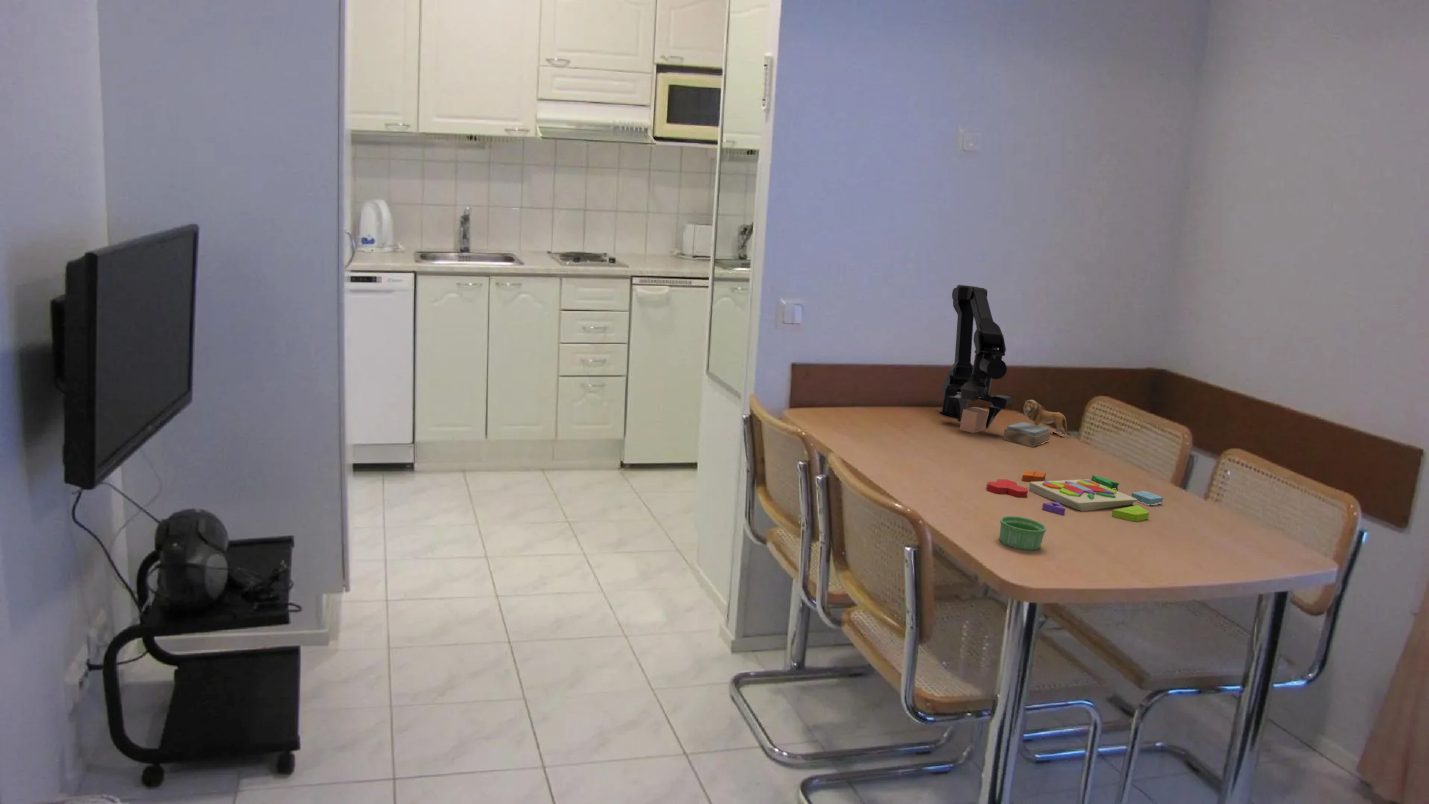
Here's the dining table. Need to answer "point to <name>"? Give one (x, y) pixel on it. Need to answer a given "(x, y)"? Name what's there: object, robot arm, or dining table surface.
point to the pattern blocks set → (1079, 494)
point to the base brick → (1026, 434)
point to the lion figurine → (1044, 415)
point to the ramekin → (1021, 532)
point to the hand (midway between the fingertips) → (973, 425)
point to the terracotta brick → (974, 419)
